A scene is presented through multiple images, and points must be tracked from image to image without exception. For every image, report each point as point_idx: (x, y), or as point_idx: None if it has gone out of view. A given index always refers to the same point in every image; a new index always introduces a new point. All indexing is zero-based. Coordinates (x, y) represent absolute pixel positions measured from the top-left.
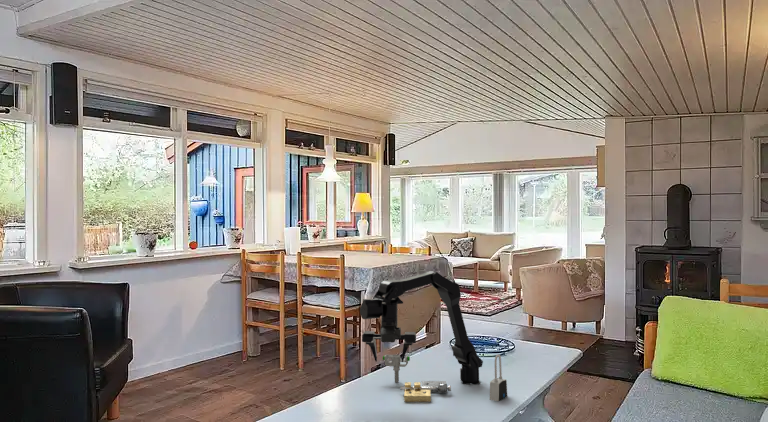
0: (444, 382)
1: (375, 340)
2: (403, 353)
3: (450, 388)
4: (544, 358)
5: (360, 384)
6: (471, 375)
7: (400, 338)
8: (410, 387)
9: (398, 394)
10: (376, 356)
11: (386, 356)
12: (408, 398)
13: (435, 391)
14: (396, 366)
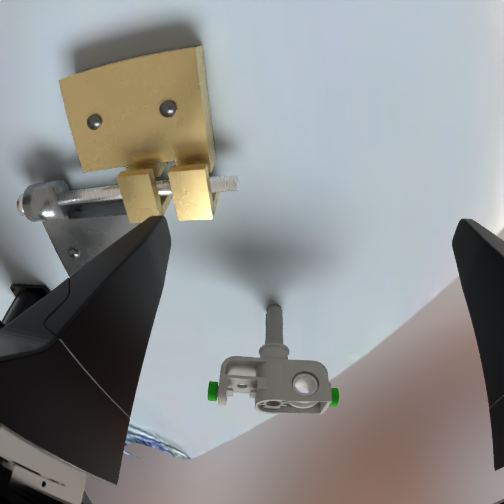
0: (69, 267)
1: (495, 463)
2: (95, 278)
3: (20, 196)
4: None
5: (416, 283)
6: (16, 306)
7: None
8: None
9: (251, 162)
10: (485, 258)
11: (322, 401)
12: (174, 50)
13: (88, 206)
14: (272, 359)
